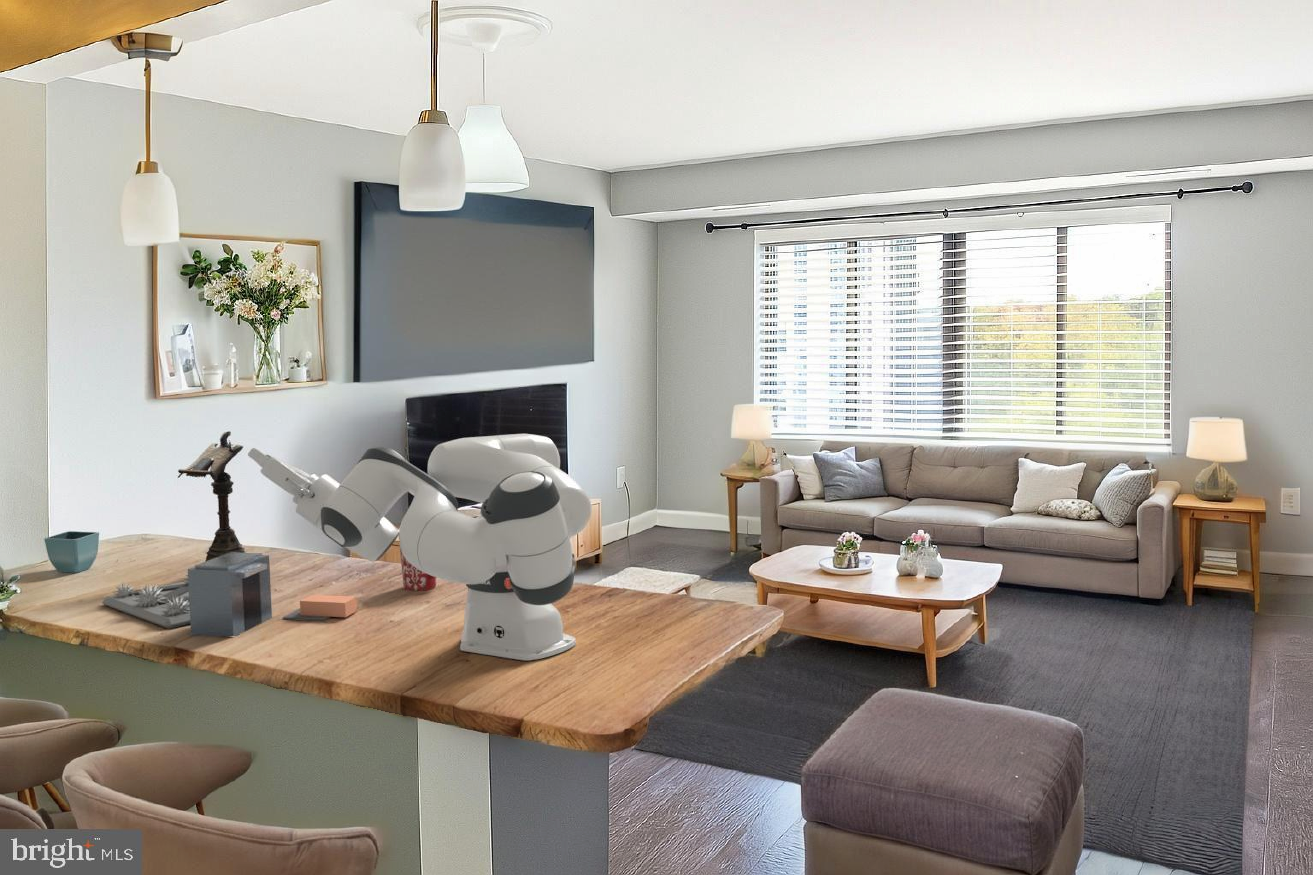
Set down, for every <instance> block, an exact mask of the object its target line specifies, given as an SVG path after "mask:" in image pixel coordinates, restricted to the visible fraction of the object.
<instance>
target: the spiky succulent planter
mask: <svg viewBox="0 0 1313 875" xmlns="http://www.w3.org/2000/svg"><path fill="white" fill-rule="evenodd" d="M186 576H187V577H188V574H186ZM184 580H185V581H180V582H176V583H175V582H174V583H169V584H165V585H159V586H158V584H157V583H156V584H155V585H154V586H152V584H148V586H147V584H145V586H144V587H145V588H144V589H143V588H142V587H140V586H139V588H136V587H133V586H132V585H131V583H128V584H126V583H125V582H124V583H123V582H122V584H121V585H118V586H117V587H116V586H115V588H116V589H117V590H114V592H115V594H112V595H107V596H106V597H105V598H104V600H103V601H102V604H103V605H105V606H106V607H108V608H109V607H110V608H112V609H115V610H117V611H119V612H122V613H125V614H127V615H131V616H133V617H136V618H139V619H142V620H144V621H147V622H149V623H152V624H155V625H157V626H161V627H162V628H165V629H167V630H170V629H175V628H178V627H183V626H187V625H188V626H189V625H191V624H190V606H189V588H188V578H184ZM137 589H138V590H137Z"/></svg>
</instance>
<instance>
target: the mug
mask: <svg viewBox="0 0 1313 875" xmlns="http://www.w3.org/2000/svg"><path fill="white" fill-rule="evenodd" d="M397 530H398V531H399V530H400V528H399V529H397ZM398 537H399V533H398ZM398 544H399V554H400V555H399V556H400V563H401V564H400V565H401V572H402V573H401V574H402V584H403V585H402V586H403V589H404V590H406V591H413V592H418V591H426V590H431V589H434V588H435V587H437V577H434V576H431V575H429V574H426V573H424V572H422V571H420V570H419V569H417V568H415V567H414V566H413V565H411V564H410V563H409V562H408V561H407V560H406V559H405V557H404V555H403V553H402V551H401V548H400V543H399V542H398Z"/></svg>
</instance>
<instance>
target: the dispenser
mask: <svg viewBox="0 0 1313 875" xmlns="http://www.w3.org/2000/svg"><path fill="white" fill-rule="evenodd" d="M270 568H271V567H270V555H269V554H268V555H267V554H263V553H261V552H245V553H238V552H230V553H227V554H224V555H222V556H219V557H216V558H214V559H211V560H208V561H206V562H205V561H203V562H201V563H198V564H196V565H195V566H193V567H190V568H188V569H187V575H188V576H187V579H188V580H187V581H188V588H189V606H190V624H189V625H190V636H199V637H200V636H203V637H219V636H235V637H237V636H239V635H241V634H242V632H243V633H244V631H245V632H247V631H248V630H251V629H253V628H255V627H256V625H257V626H258V625H260V624H262V623H264V622H265V621H267V620H270V619H272V618H273V612H272V611H273V610H272V609H273V608H272V590H271V569H270ZM254 626H255V627H254ZM240 633H241V634H240ZM238 634H239V635H238ZM236 635H237V636H236Z"/></svg>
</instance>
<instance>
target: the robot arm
mask: <svg viewBox="0 0 1313 875" xmlns="http://www.w3.org/2000/svg"><path fill="white" fill-rule="evenodd" d="M247 456H248V457H249V458H250V459H252V460H253V461H254V462H256V463H257V465H259V466H260V467H261V469H260V473H261V474H262V475H263V476H264V477H265V478H267V479H268V480H269V481H270V482H273V483H274V484H275V485H276V486H278V487H279V488H280V489H282V490H284V491H285V492H287V493H288V494H290V495H292V496H293V497H292V502H293V503H294V504H296V508H295V512H296V514H297V515H299V516H301V517H302V518H303V519H304V520H306V521H308V522H309V523H311V524H312V525H313V526H315V527H316V528H317V529H320V530H321V531H322V532H323V534H324V535H325V536H326V537H328V538H329V539H330V540H331V541H333V542H334V543H336V544H337V545H339V546H340V547H342V548H345V549H347V550H348V551H350V552H352V553H354V554H355V555H357V556H359V557H361V558H362V559H364V560H367V561H369V562H373V563H374V562H376V561H379V560H380V559H381V558H383V556H384V554H386V553H387V552H388V550H389V549H390V548H391V547H392V546H393V544H394V543H395V541H396V540H397V539H398V544H399V543H400V546H399V549H400V548H401V551H402V553H403V555H404V557H405V559H406V560H407V561H408V562H409V563H410V564H411V565H413V566H414V567H415V568H417V569H419V570H420V571H422V572H424V573H426V574H429V575H431V576H434V577H436V579H437V578H438V579H439V580H443V581H447V582H452V583H455V584H462V585H463V584H464V585H465V586H466V588H467V596H466V603H465V610H464V611H465V612H464V620H463V631H462V633H461V634H462V635H461V639H460V646H459V650H460V651H461V652H462V651H463V652H466V653H467V652H468V653H474V654H481V655H486V656H487V655H488V656H494V657H499V658H500V657H501V658H505V659H510V660H511V659H514V660H518V661H533V660H534V661H535V660H540V659H544V658H548V657H551V656H554V655H557V654H561V653H563V652H566V651H567V650H569V649H572V648H573V647H574V646H575V645H576V643H577V642H576V637H574V636H572V635H569V634H566V633H564V627H563V621H562V616H561V613H560V611H559V609H557V608H556V607H555V606H554V605H553V604H554V603H556V602H558V601H561V599H563V598H565V596H567V595H568V593H570V591H571V590H572V588H573V586H574V583H575V582H574V581H575V570H576V568H575V567H576V566H575V556H576V555H575V554H574V553H573V549H572V544H571V538H572V537H574V536H577V535H578V534H579V533H581V532H582V531H583V530H584V529H585V528H586V527H587V525H588V524H589V521H590V518H591V515H592V504H591V503H592V502H591V499H590V498H589V497H590V496H589V495H588V493H587V492H586V491H585V490H584V488H583V487H582V486H581V485H580V484H579V483H578V482H577V481H576V480H575V479H574V478H573V477H572V476H570V475H569V474H567V473H566V472H565V471H563V470H562V469H561V456H560V453H559V449H558V448H557V445H556V444H555V443H554V441H553V440H552V439H551V438H549V437H548V436H545V435H540V434H539V435H537V434H532V433H530V434H529V433H515V434H513V433H511V434H499V435H487V436H474V437H473V436H470V437H462V438H457V439H452V440H449V441H446V442H442V443H440V444H437V445H436V446H435V447H434V448H433V450H432V452H430V455H429V458H428V460H427V472H425V471H423V470H421V469H420V468H419V467H417V466H415V464H414V465H413V464H412V463H410V462H409V461H407V459H405V458H404V456H402V455H401V454H400V453H399V452H398V451H395V450H394V449H392V448H390V447H387V446H379V447H378V446H376V447H371V448H368V449H366V451H365V452H364V454H363V455H362V456H361V458H360V459H359V460H358V461H357V463H356V465H355V466H354V467H353V469H352V470H351V471H350V472H349V473H348V475H347V476H346V477H345V478H344V479H343V480H342V481H341V482H340V483H339V482H338V481H337V480H335V479H334V478H333V477H331V476H330V475H328V474H327V473H325V474H322V475H320V476H319V475H317V474H315V473H314V474H309V473H307V472H306V471H304V470H301V469H299V468H297V467H295V466H294V465H292V464H289V463H287V462H285V461H283V460H281V459H280V458H277V457H275V456H272V455H269V454H264V453H263V452H261V451H260V450H259V449H257V448H255V447H252V448H251V449H250V450H249V452H248V453H247ZM406 493H408V494H411V495H412V496H413V499H412V501H411V504H410V505H409V507H408V509H407V511H406V513H405V515H403V517H402V520H401V523H400V526H399V529H400V530H399V529H398V528H397V527H396V526H395V525H394V524H393V523H392V522H391V521H390V520H389V519H387V517H385V516H386V515H387V513H389V511H390V510H391V509H392V508H393V507H394V505H395V504H396V503H397V502H398V500H400V498H402V496H404V495H405V494H406ZM457 498H461V499H466V500H470V501H474V502H476V503H480V504H481V507H480V514H479V515H478V516H476V517H472V516H469V515H468V514H467V515H466V514H464V513H462V512H459V510H458V509H459V502H458V500H457ZM398 530H399V531H398ZM398 533H399V536H398Z"/></svg>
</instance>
